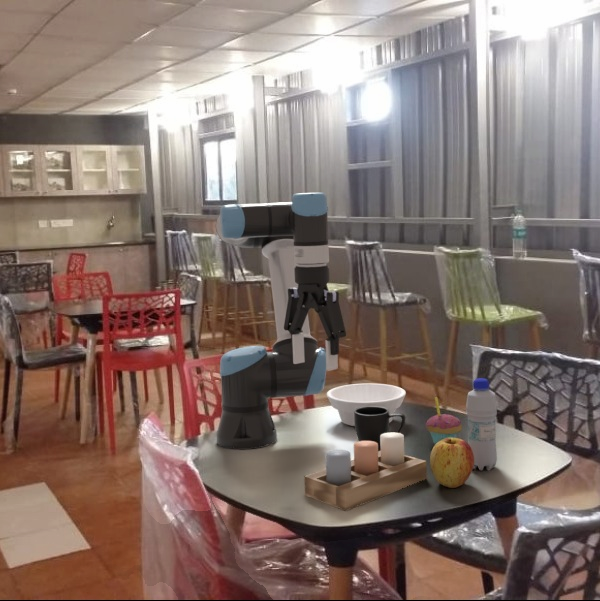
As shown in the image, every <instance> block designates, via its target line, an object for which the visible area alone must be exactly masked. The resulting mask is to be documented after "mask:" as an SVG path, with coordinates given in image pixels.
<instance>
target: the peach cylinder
mask: <svg viewBox="0 0 600 601" xmlns="http://www.w3.org/2000/svg"><path fill="white" fill-rule="evenodd" d="M353 460H354V470H355V472H356V473H359V474H362V475H365V476H368V475H371V474H374V473H377V472H379V467H378V443H376V442H374V441H356V442H354V443H353Z"/></svg>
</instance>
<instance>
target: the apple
mask: <svg viewBox="0 0 600 601" xmlns="http://www.w3.org/2000/svg"><path fill="white" fill-rule="evenodd" d="M429 456H430V458H429V463H430V464H429V466H430V468H431V471H432V473H433V476H434V478H435V479H436V481H437V482H438V483H439V484H441V485H442V486H444V487H446V488H449V489H454V488H459V487H462V485H463V484H465V483H466V481H467V480H468V479H469V478H470V476H471V474H472V472H473V470H474V469H473V466H474V455H473V451H472V449H471V447H470V445H469V444H468V441H466V440H464V439H461V438H458V437H456V438H445V439H443V440H441V441H439V442H437V443H436V444H434V446H433V448H432V450H431V452H430V455H429Z"/></svg>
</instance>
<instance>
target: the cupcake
mask: <svg viewBox="0 0 600 601" xmlns="http://www.w3.org/2000/svg"><path fill="white" fill-rule="evenodd" d="M434 401H435V407H436V408H435V409H436V412H437V414H435V415H432V416H430V417H429V418H427V420H426V422H425V427H426V430H427V431H429V433H430V435H431V438H432V441H433V444H434V445H435V444H436V443H437V442H439V441H441V440H443V439H445V438H457V435H458V433H460V432H461V431H462V428H463V425H462V422H461V420H460V419H459V418H458V417H455V415H452V414H448V413H444V414H441V410H440V405H439V404H440V403H439V398H438V397H437V395H436V394H434Z"/></svg>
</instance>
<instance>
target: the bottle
mask: <svg viewBox="0 0 600 601" xmlns="http://www.w3.org/2000/svg"><path fill="white" fill-rule="evenodd" d="M472 384H473V386H472V387H473V388H472V389H473V390H470V391H469V392H468V393H467V398H466V404H465V408H466V412H465V414H466V416H467V443H468V444H469V445H470V447H471V449H472V451H473V455H474V466H473V469H472V470H476V469H477V468H478V469H479V471H484V467H486V470H487V471H490V470H492V469H493V468H495V467H496V465H497V460H498V456H497V455H498V454H497V453H498V452H497V444H496V435H497V434H496V427H497V426H496V424H497V423H496V417H497V414H498V412H497V411H498V404H497V403H498V402H497V398H496V392H494V391H492V390H491V389H490V382H489V380H488V379H487V378H483V377H481V378H480V377H479V378H475V379H474V380H473V383H472Z"/></svg>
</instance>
